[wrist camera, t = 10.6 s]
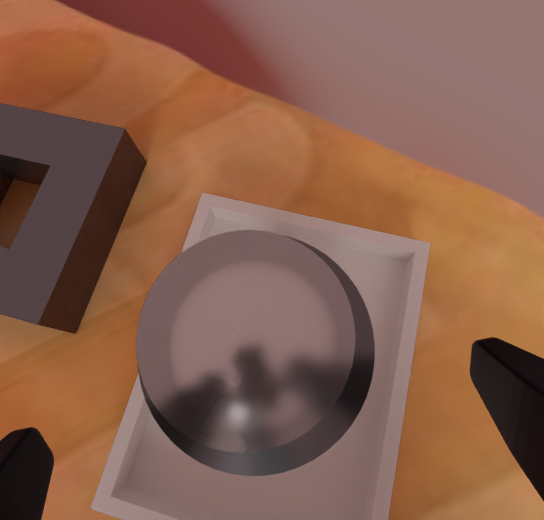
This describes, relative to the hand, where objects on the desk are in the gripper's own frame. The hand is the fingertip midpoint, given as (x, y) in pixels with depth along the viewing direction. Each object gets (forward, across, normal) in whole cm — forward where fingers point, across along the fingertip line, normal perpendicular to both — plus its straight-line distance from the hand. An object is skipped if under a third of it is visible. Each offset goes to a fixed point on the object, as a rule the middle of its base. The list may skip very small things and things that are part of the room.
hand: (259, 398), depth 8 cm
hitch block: (+15, +12, -1) cm, 19 cm away
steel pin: (+8, 0, +6) cm, 10 cm away
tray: (+8, 0, +7) cm, 10 cm away
